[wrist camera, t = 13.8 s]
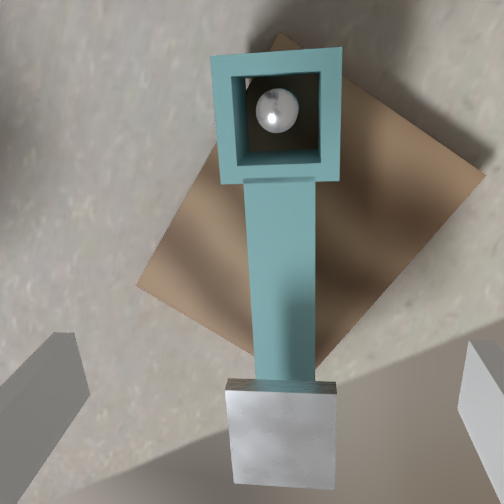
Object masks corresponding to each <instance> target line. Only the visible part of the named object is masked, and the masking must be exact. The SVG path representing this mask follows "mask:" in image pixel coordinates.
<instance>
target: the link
mask: <svg viewBox="0 0 504 504" xmlns="http://www.w3.org/2000/svg"><path fill="white" fill-rule="evenodd" d="M210 61H211V73H212V85H213V97H214V109H215V121H216V133H217V145H218V157H219V169H220V181H221V184H244V200H245V216H246V232H247V248H248V263H249V279H250V295H251V311H252V327H253V342H254V358H255V374H256V379H263V380H293V381H315V182H321V181H339V176H340V131H341V87H342V47H331V48H317V49H303V50H289V51H275V52H261V53H247V54H233V55H219V56H210ZM305 74H318V149H306V150H280V151H255V152H249V135H248V118H247V100H246V82H245V78H257V77H273V76H289V75H305Z"/></svg>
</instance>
